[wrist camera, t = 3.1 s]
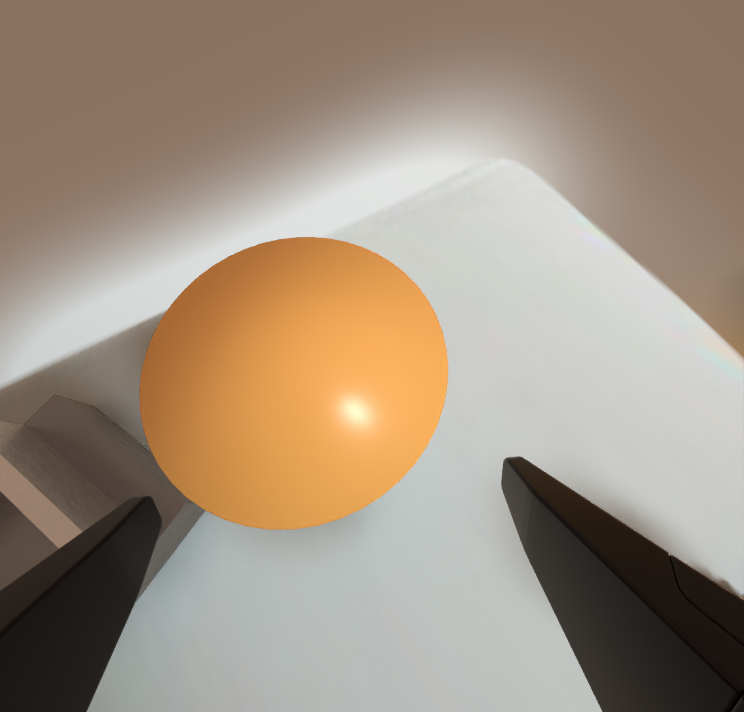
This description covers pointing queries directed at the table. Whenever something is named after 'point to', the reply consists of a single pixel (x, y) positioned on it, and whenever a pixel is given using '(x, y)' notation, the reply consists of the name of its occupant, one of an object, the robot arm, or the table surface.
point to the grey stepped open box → (77, 485)
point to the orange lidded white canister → (293, 383)
